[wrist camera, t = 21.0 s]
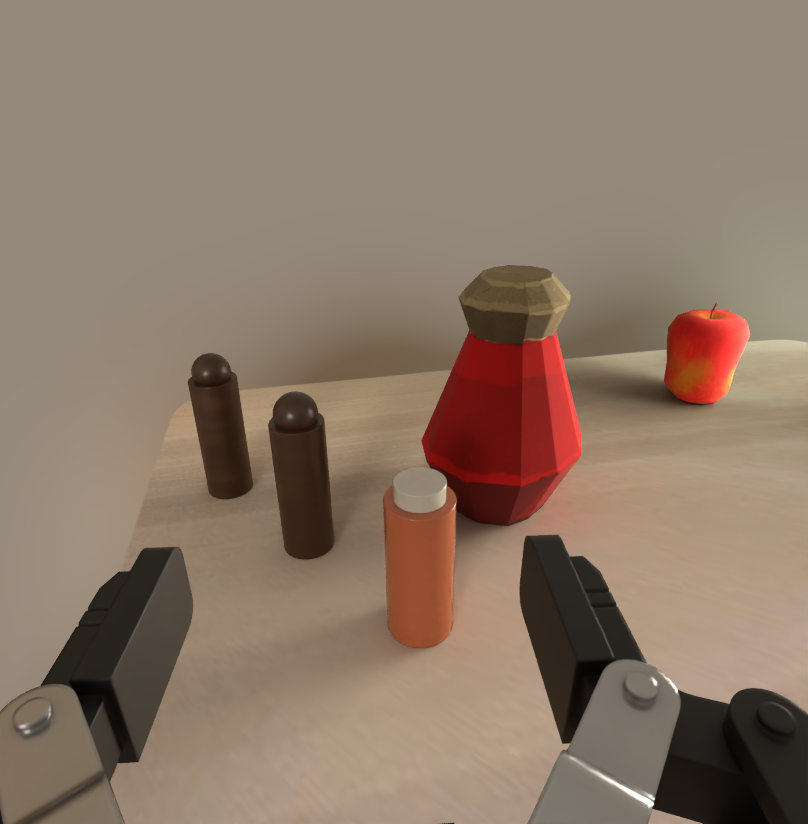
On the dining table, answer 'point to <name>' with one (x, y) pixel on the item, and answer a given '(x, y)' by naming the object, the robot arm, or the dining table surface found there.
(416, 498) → the shaker
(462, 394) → the bottle
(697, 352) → the apple
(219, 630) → the dining table surface
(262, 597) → the dining table surface
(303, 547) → the post
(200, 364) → the post
